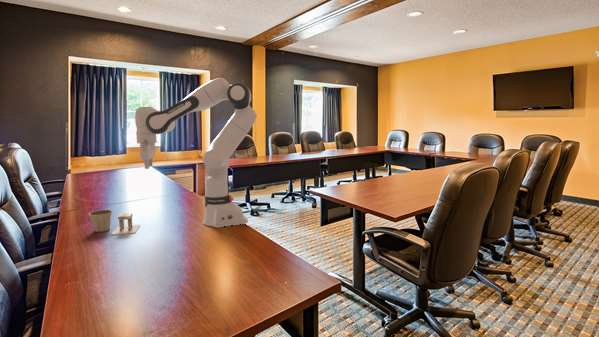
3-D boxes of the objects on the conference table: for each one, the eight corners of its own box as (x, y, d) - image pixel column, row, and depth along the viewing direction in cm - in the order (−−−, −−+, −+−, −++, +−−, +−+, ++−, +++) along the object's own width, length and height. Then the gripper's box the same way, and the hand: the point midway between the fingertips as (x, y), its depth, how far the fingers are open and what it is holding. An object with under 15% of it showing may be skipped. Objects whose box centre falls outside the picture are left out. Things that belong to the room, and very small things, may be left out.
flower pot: (103, 234, 150) (101, 215, 148) (85, 232, 151) (83, 214, 150) (118, 227, 159) (116, 210, 157) (101, 226, 160) (100, 209, 159)
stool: (133, 227, 158) (132, 213, 157) (130, 230, 153) (129, 216, 152) (121, 228, 157) (120, 213, 156) (119, 231, 152) (117, 216, 151)
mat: (140, 225, 162) (140, 224, 162) (135, 233, 151) (135, 232, 151) (117, 227, 159) (117, 226, 159) (110, 235, 148) (110, 234, 148)
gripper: (150, 140, 152) (152, 169, 154) (156, 138, 171) (158, 164, 173) (135, 140, 150) (137, 170, 152) (143, 138, 170) (145, 165, 172)
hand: (148, 167), depth 163 cm, fingers open, 8 cm apart
